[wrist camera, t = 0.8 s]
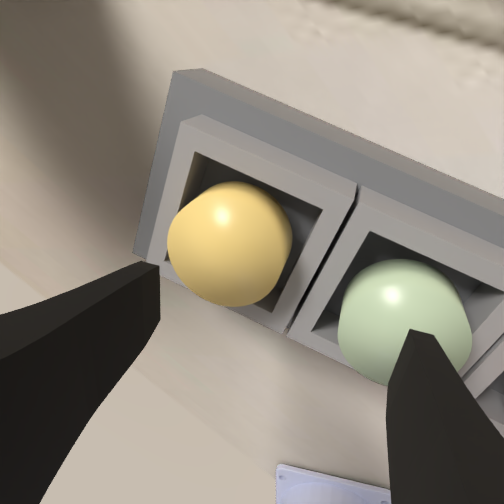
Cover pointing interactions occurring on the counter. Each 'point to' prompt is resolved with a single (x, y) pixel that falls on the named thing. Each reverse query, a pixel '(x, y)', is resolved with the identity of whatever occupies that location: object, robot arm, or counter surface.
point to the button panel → (329, 215)
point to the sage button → (400, 316)
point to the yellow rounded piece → (230, 244)
